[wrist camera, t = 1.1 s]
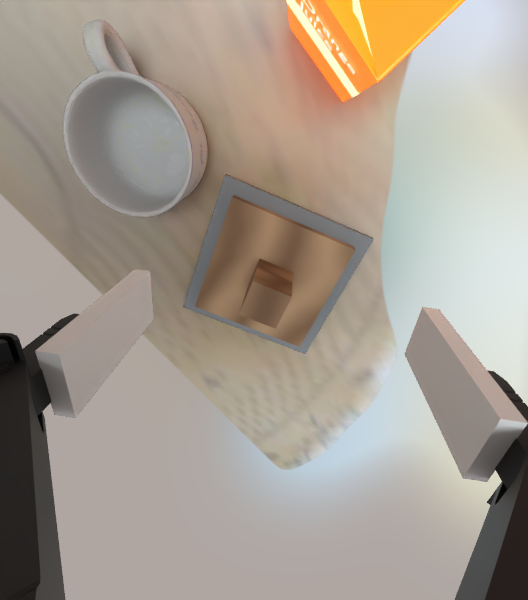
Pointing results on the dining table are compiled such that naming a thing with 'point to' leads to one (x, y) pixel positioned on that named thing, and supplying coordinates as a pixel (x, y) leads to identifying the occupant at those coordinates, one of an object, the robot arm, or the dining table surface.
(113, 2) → the dining table surface
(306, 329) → the lid
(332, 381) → the dining table surface
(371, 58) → the orange juice
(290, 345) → the mat
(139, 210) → the teacup
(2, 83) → the dining table surface
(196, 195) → the dining table surface
